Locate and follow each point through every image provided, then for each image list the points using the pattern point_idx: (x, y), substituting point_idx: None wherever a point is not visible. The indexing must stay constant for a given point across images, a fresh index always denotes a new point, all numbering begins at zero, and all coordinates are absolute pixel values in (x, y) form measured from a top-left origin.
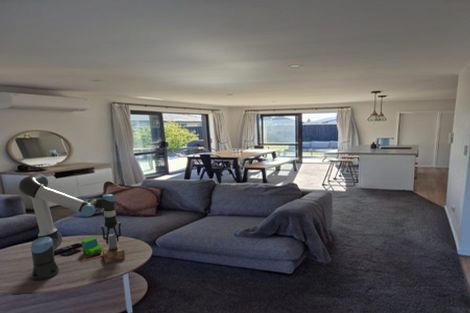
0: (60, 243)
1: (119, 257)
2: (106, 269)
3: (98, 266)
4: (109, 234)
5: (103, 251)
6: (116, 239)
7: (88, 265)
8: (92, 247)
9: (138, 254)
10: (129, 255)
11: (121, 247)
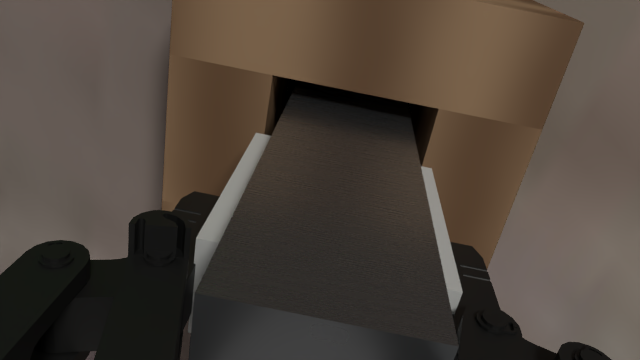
0: None
1: None
2: (182, 355)
3: (115, 237)
4: (240, 317)
5: (166, 133)
6: None
7: (3, 122)
8: None
9: (628, 284)
10: (529, 228)
11: (485, 210)
